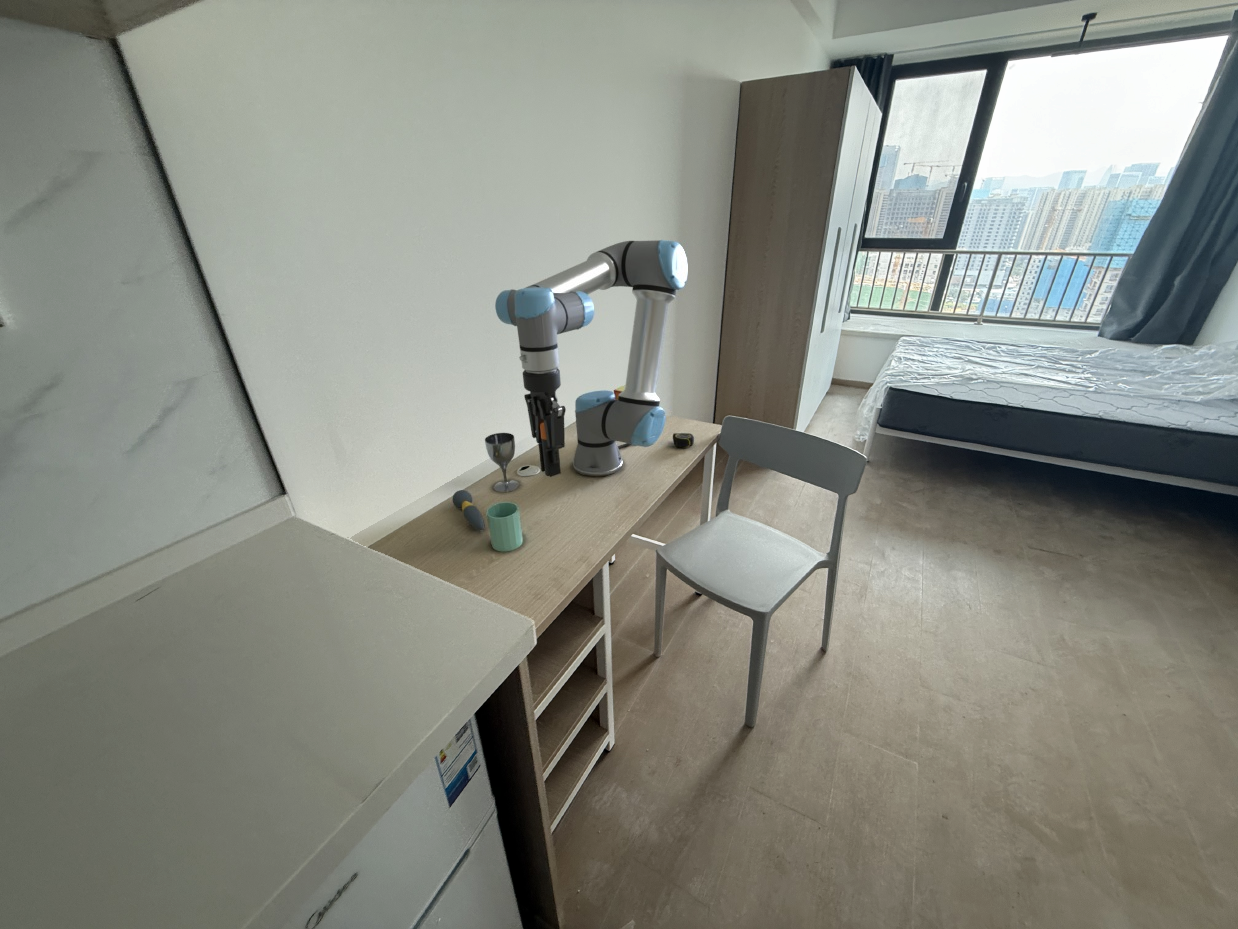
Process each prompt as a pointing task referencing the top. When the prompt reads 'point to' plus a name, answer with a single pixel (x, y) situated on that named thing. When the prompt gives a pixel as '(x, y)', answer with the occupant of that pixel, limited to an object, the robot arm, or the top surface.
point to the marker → (544, 445)
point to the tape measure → (683, 440)
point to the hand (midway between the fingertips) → (550, 471)
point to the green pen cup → (504, 526)
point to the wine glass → (502, 457)
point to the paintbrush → (468, 509)
